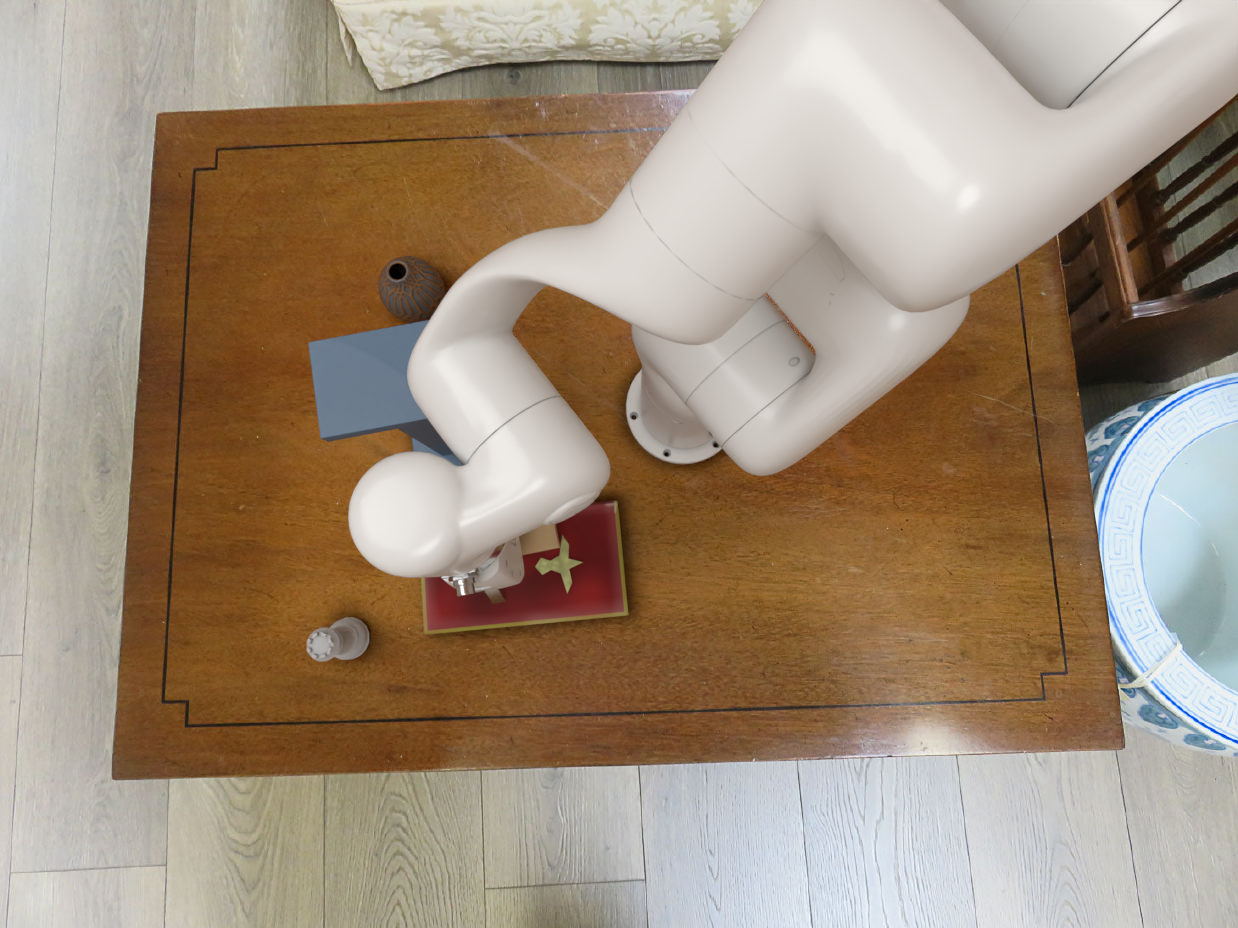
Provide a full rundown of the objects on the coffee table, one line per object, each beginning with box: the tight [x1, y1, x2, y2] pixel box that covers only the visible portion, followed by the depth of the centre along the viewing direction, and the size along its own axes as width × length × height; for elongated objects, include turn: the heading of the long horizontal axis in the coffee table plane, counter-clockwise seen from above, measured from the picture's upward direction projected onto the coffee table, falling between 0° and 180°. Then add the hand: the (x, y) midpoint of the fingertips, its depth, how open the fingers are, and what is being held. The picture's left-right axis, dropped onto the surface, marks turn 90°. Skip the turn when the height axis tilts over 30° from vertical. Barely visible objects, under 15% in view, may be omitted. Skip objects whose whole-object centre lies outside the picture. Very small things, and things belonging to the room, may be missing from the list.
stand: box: [307, 320, 463, 466], centre depth 69 cm, size 14×8×24 cm, turn 101°
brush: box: [519, 524, 560, 556], centre depth 70 cm, size 11×4×10 cm, turn 101°
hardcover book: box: [420, 500, 629, 636], centre depth 77 cm, size 12×21×4 cm, turn 95°
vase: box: [377, 255, 446, 324], centre depth 79 cm, size 7×7×9 cm
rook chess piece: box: [306, 616, 370, 663], centre depth 74 cm, size 4×4×8 cm
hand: (501, 535), depth 71 cm, fingers closed on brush, 2 cm apart
